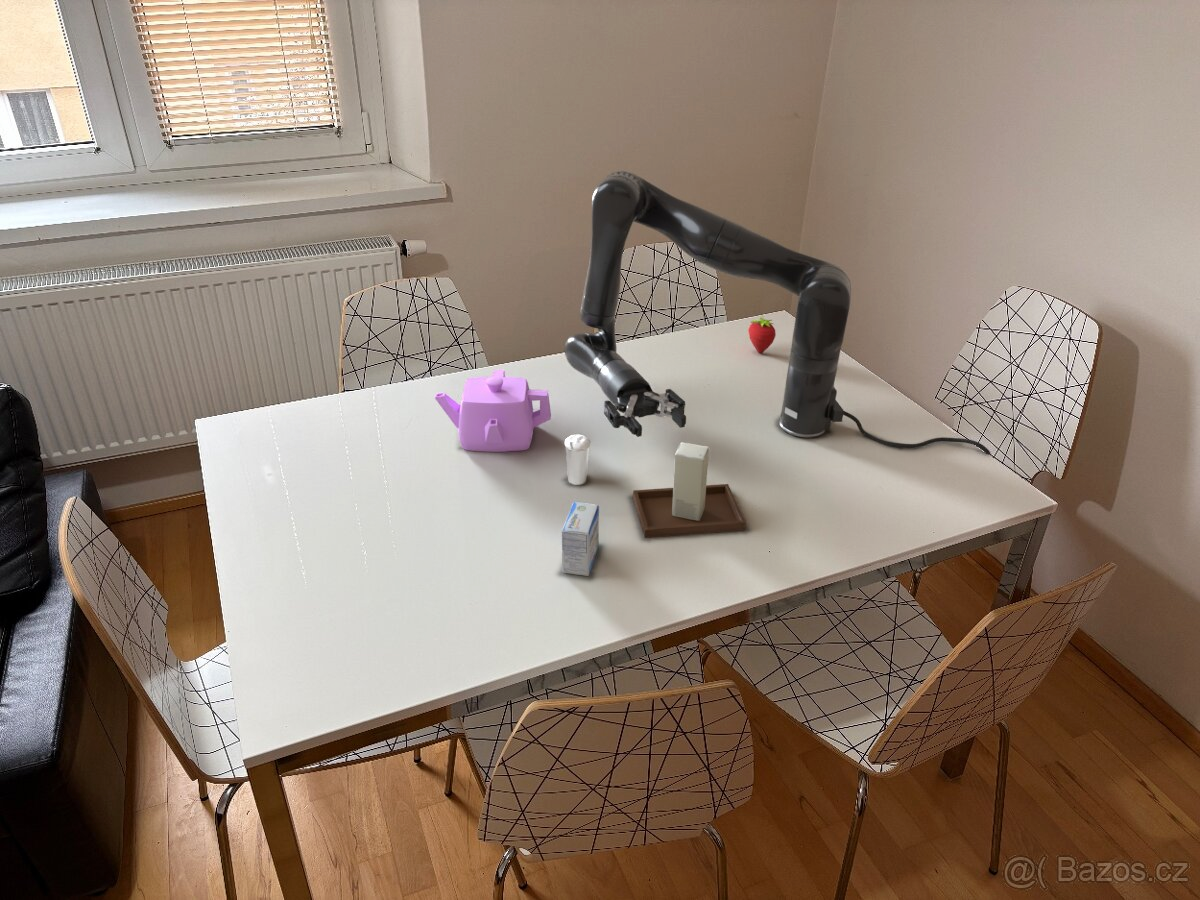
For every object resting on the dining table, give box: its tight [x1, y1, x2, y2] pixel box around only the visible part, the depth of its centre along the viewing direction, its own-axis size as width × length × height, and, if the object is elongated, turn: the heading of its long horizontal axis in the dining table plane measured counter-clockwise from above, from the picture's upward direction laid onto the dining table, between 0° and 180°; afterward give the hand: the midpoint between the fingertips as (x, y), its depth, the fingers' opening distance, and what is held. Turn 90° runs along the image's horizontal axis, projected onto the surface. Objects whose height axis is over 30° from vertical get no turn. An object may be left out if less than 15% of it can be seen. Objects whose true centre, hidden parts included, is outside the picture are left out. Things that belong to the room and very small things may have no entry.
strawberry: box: [748, 313, 777, 355], centre depth 203 cm, size 6×8×10 cm
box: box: [672, 441, 710, 521], centre depth 149 cm, size 5×4×13 cm
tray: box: [632, 483, 747, 539], centre depth 152 cm, size 17×11×2 cm, turn 98°
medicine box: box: [560, 501, 600, 577], centre depth 139 cm, size 8×4×9 cm, turn 168°
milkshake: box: [564, 434, 591, 486], centre depth 157 cm, size 4×5×10 cm
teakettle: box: [434, 369, 552, 453], centre depth 169 cm, size 17×17×12 cm
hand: (662, 427), depth 155 cm, fingers open, 8 cm apart
